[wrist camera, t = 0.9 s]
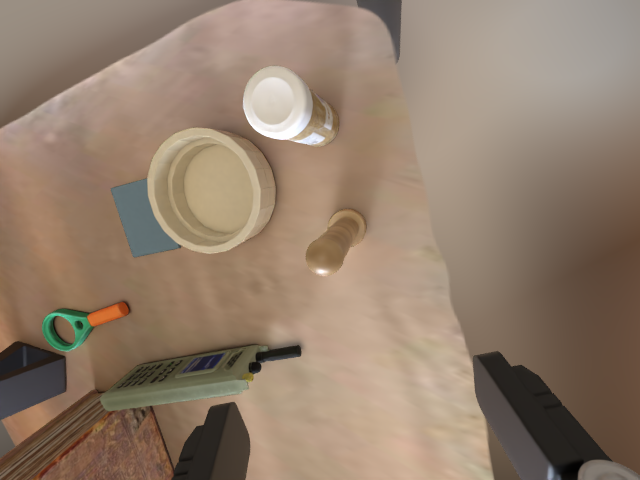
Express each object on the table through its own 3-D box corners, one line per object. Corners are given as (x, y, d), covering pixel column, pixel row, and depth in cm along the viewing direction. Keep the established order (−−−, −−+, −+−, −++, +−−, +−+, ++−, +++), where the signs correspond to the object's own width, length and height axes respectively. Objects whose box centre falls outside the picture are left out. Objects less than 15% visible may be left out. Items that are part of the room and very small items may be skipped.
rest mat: (112, 188, 42) (110, 188, 42) (159, 175, 40) (156, 175, 40) (135, 256, 43) (133, 257, 43) (181, 247, 42) (179, 248, 41)
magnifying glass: (62, 351, 50) (50, 357, 48) (43, 315, 49) (31, 320, 48) (139, 325, 46) (129, 331, 44) (119, 285, 45) (109, 290, 43)
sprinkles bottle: (347, 112, 34) (317, 80, 21) (328, 154, 35) (290, 148, 22) (307, 94, 34) (254, 51, 22) (290, 136, 36) (231, 120, 23)
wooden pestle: (326, 212, 37) (287, 239, 23) (362, 205, 36) (342, 228, 22) (334, 247, 37) (300, 293, 24) (369, 241, 36) (354, 284, 23)
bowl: (163, 148, 39) (131, 146, 34) (261, 119, 36) (240, 112, 31) (194, 251, 41) (168, 262, 37) (289, 232, 38) (274, 241, 33)
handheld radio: (136, 361, 47) (298, 332, 41) (145, 381, 48) (306, 355, 41) (96, 393, 41) (281, 365, 34) (107, 416, 42) (291, 393, 35)
